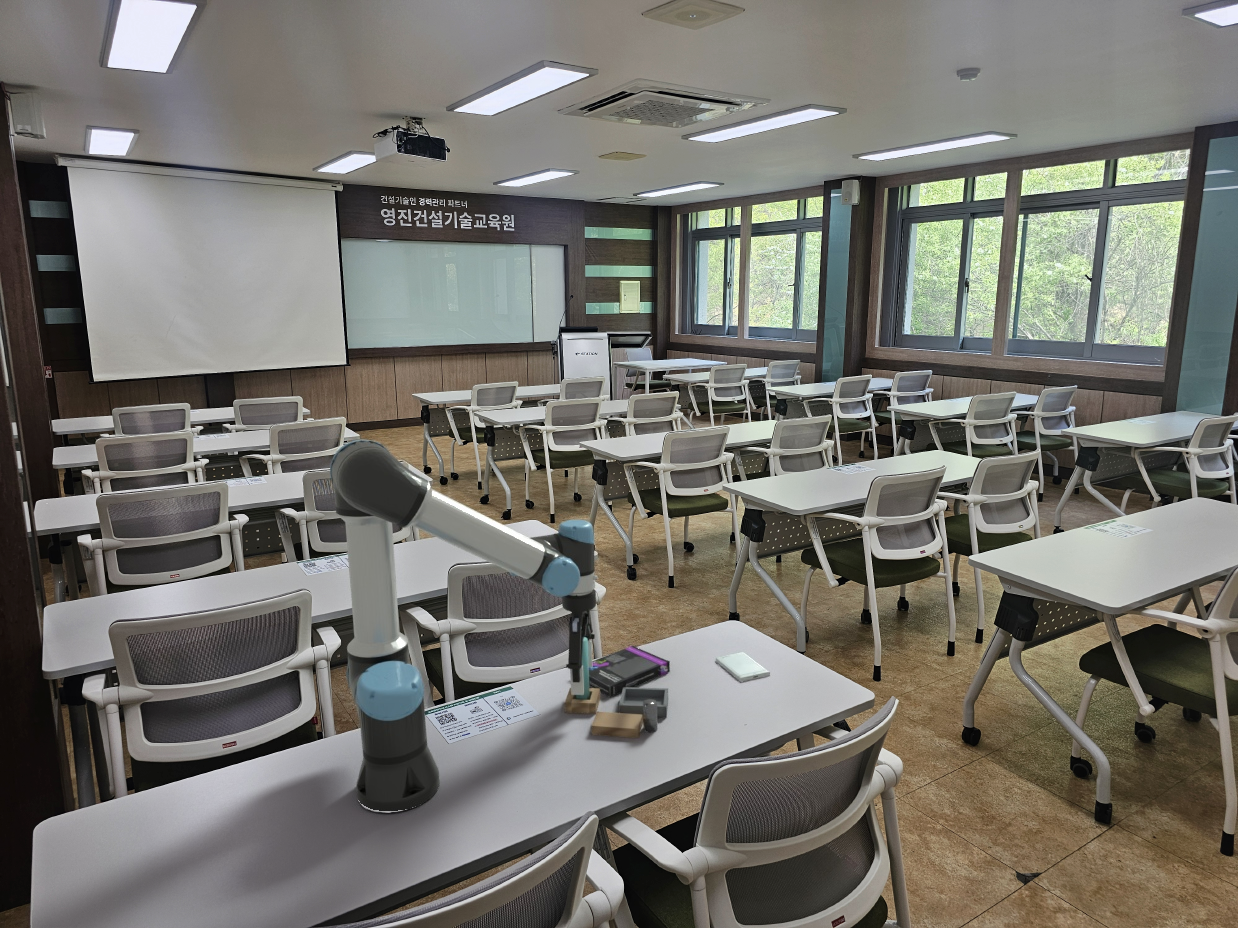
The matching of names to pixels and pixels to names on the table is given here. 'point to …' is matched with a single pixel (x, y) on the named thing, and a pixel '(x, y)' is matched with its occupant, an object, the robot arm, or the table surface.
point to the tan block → (617, 724)
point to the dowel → (585, 672)
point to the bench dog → (650, 715)
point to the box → (625, 670)
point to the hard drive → (742, 666)
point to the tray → (635, 697)
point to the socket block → (583, 702)
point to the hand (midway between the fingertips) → (582, 679)
